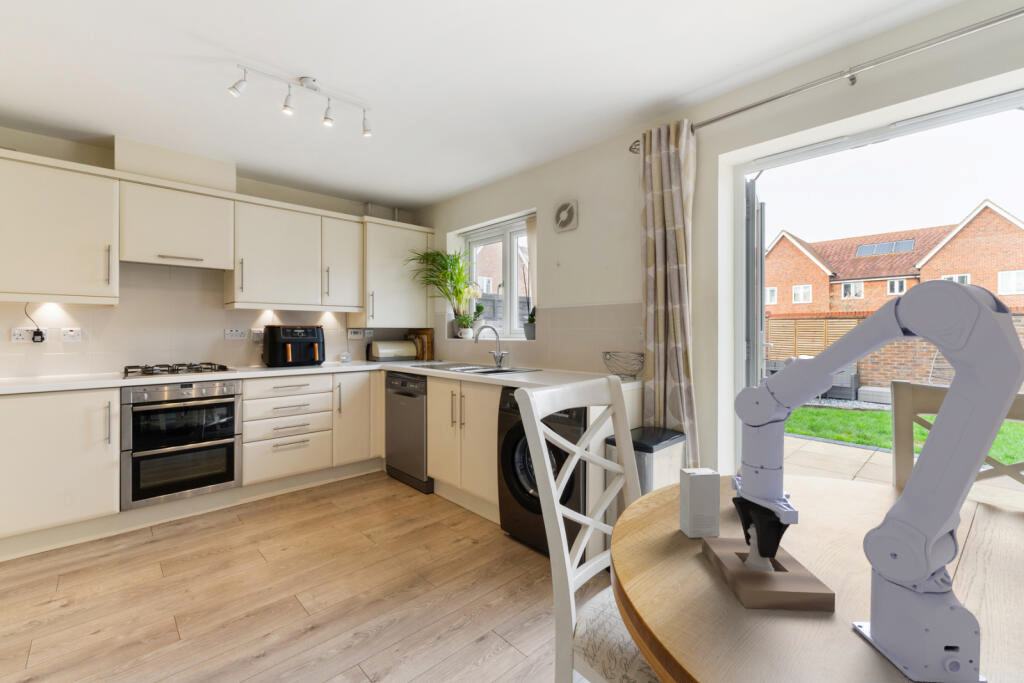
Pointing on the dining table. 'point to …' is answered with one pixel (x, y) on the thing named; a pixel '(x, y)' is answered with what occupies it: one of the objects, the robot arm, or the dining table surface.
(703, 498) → the skincare box
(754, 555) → the rook chess piece
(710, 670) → the dining table surface
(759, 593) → the socket board
